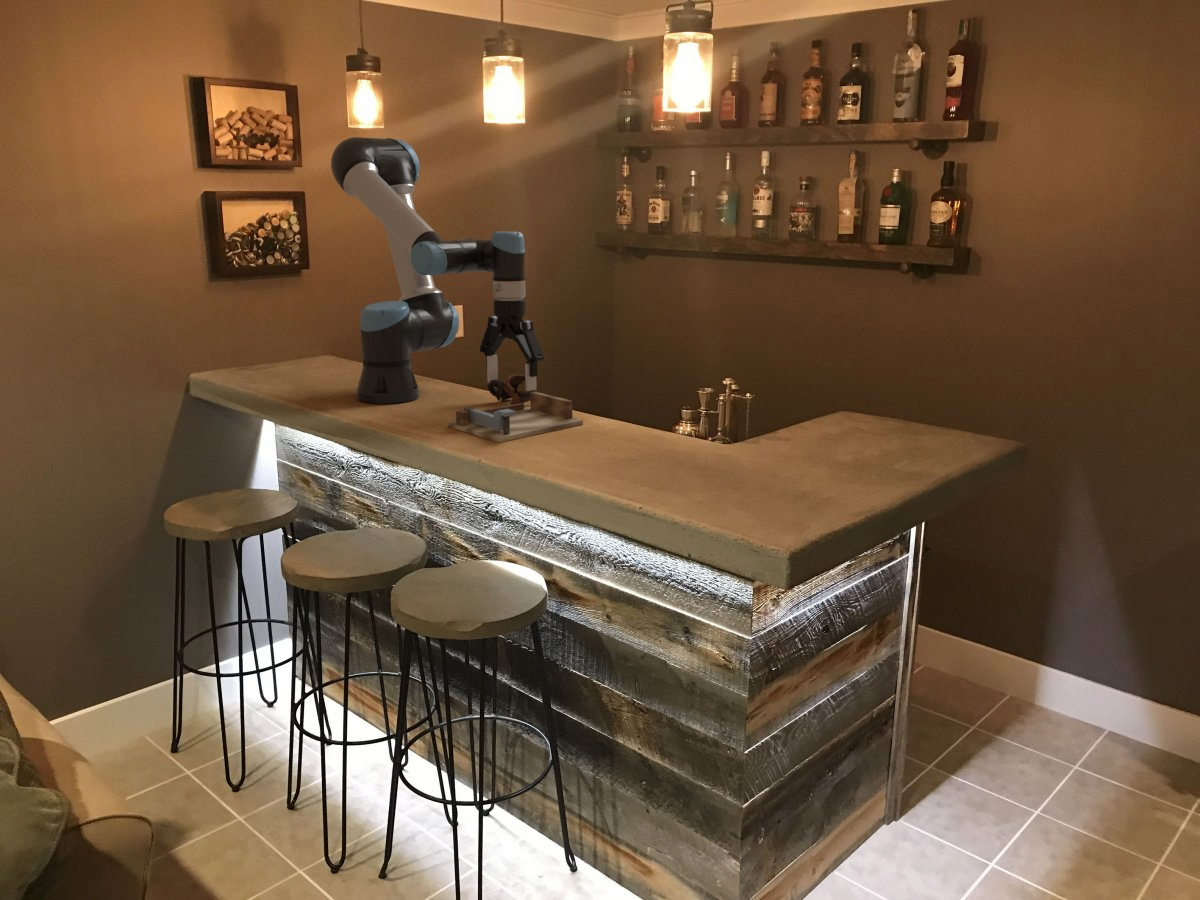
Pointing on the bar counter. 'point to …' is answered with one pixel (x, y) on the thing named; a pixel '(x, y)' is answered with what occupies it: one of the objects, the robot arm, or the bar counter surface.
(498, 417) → the leg
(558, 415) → the board
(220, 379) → the bar counter surface
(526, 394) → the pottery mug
